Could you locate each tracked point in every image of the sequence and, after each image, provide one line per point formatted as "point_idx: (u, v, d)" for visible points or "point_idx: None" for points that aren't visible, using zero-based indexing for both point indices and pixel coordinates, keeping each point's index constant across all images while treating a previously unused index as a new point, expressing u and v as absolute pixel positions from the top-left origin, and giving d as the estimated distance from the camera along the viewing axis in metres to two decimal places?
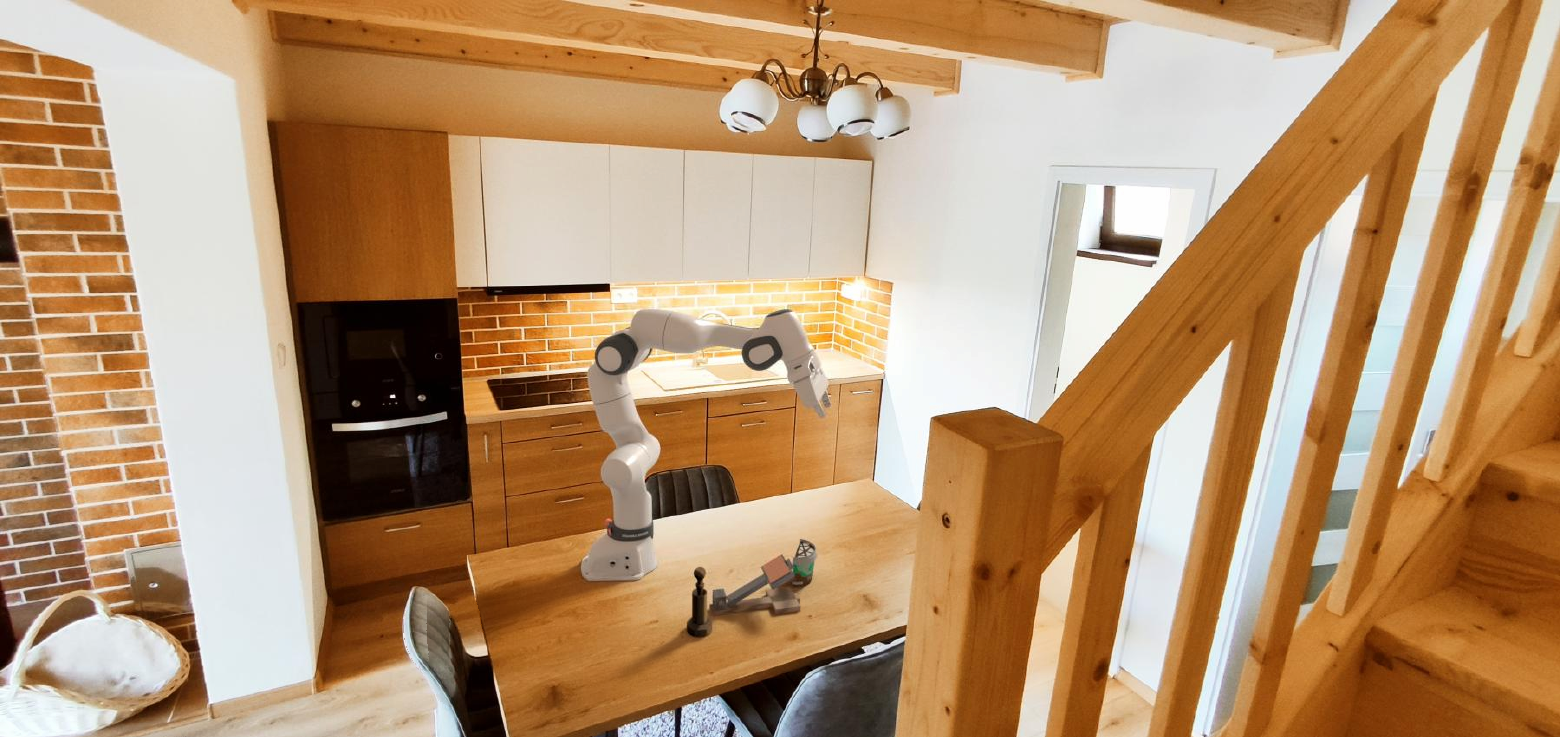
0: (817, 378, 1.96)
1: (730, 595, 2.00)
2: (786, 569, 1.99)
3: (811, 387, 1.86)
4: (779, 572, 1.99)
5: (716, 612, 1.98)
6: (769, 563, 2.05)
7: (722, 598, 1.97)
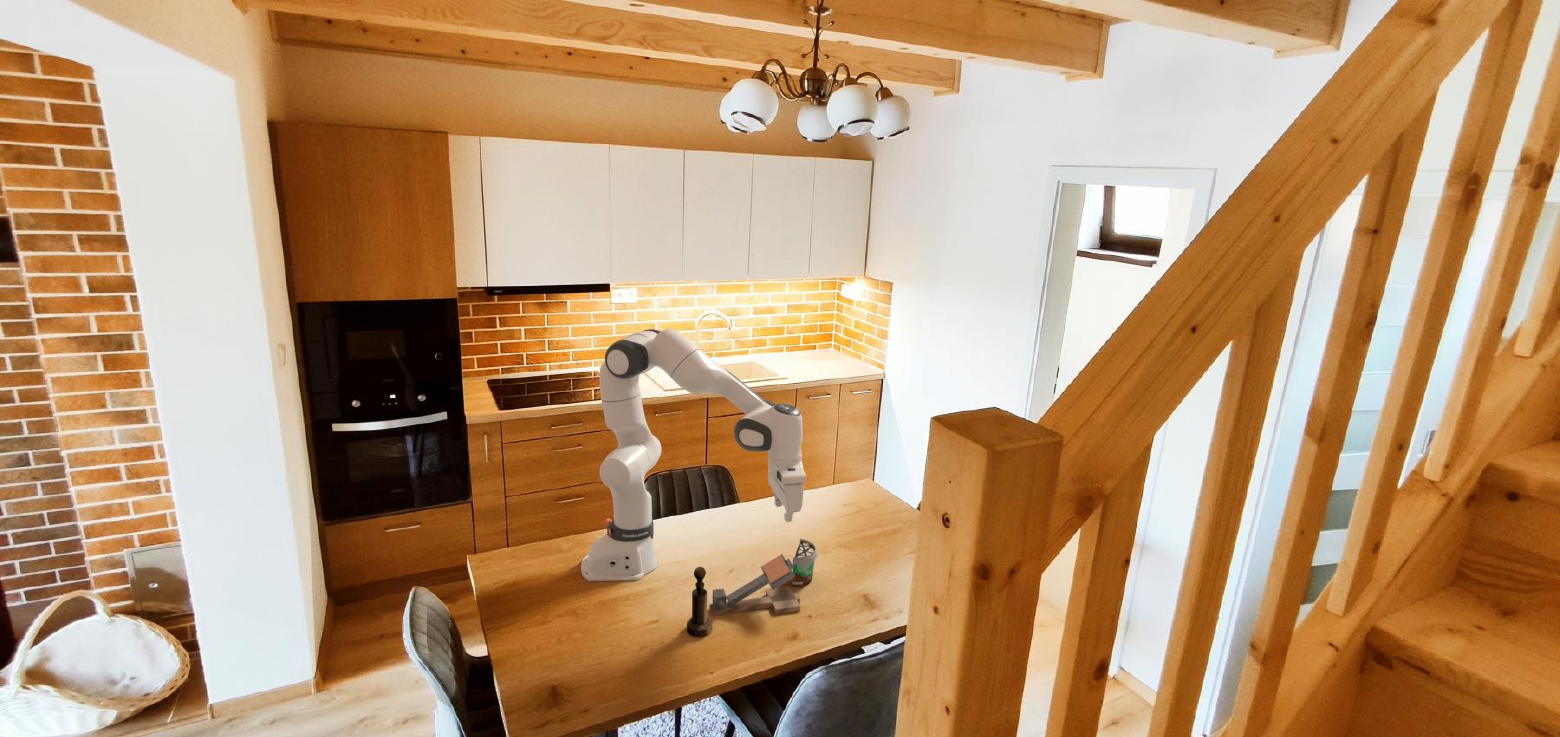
0: None
1: (730, 595, 2.00)
2: (786, 569, 1.99)
3: (802, 495, 1.87)
4: (779, 572, 1.99)
5: (716, 612, 1.98)
6: (769, 563, 2.05)
7: (722, 598, 1.97)
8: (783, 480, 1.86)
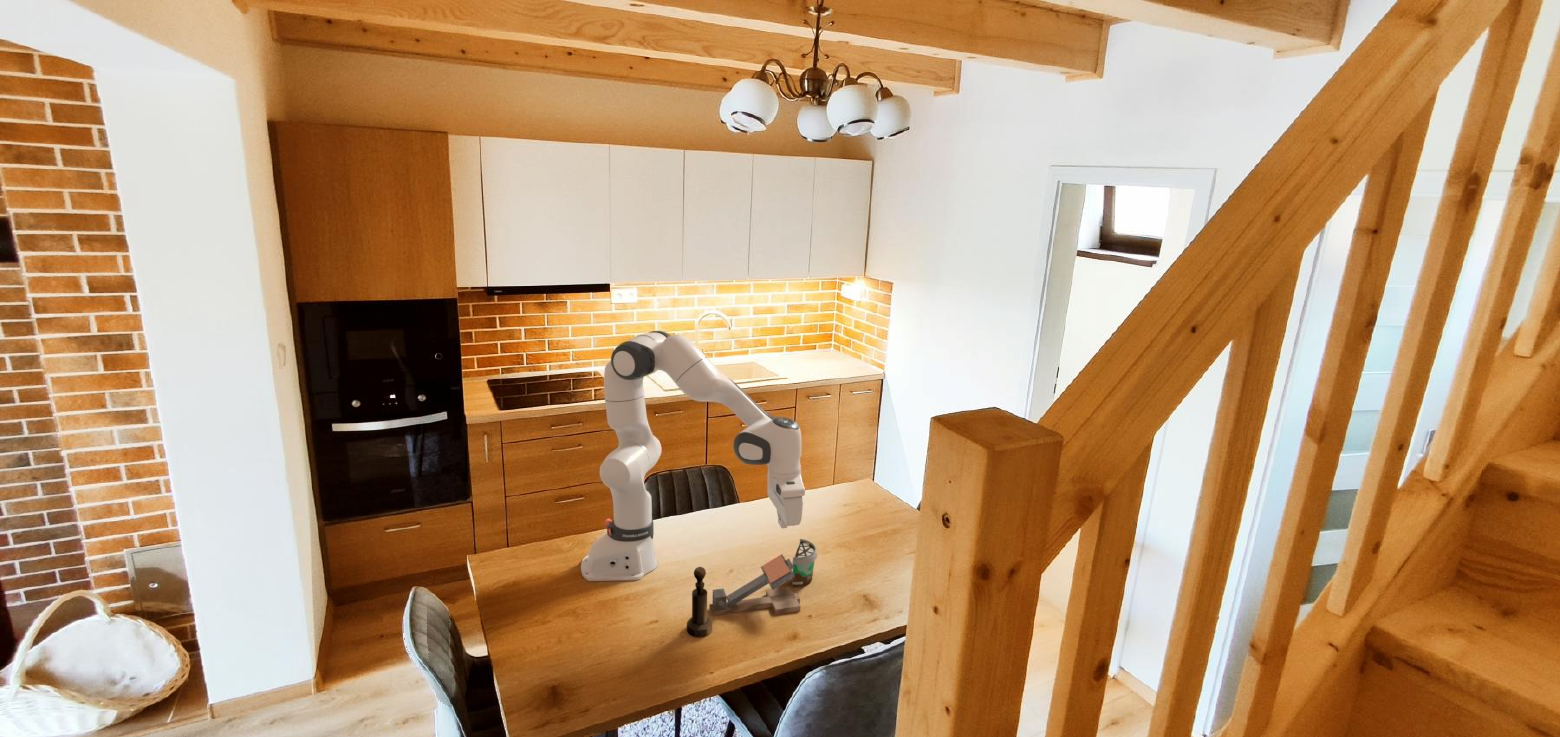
0: None
1: (730, 595, 2.00)
2: (786, 569, 1.99)
3: (801, 508, 1.88)
4: (779, 572, 1.99)
5: (716, 612, 1.98)
6: (769, 563, 2.05)
7: (722, 598, 1.97)
8: (782, 494, 1.86)
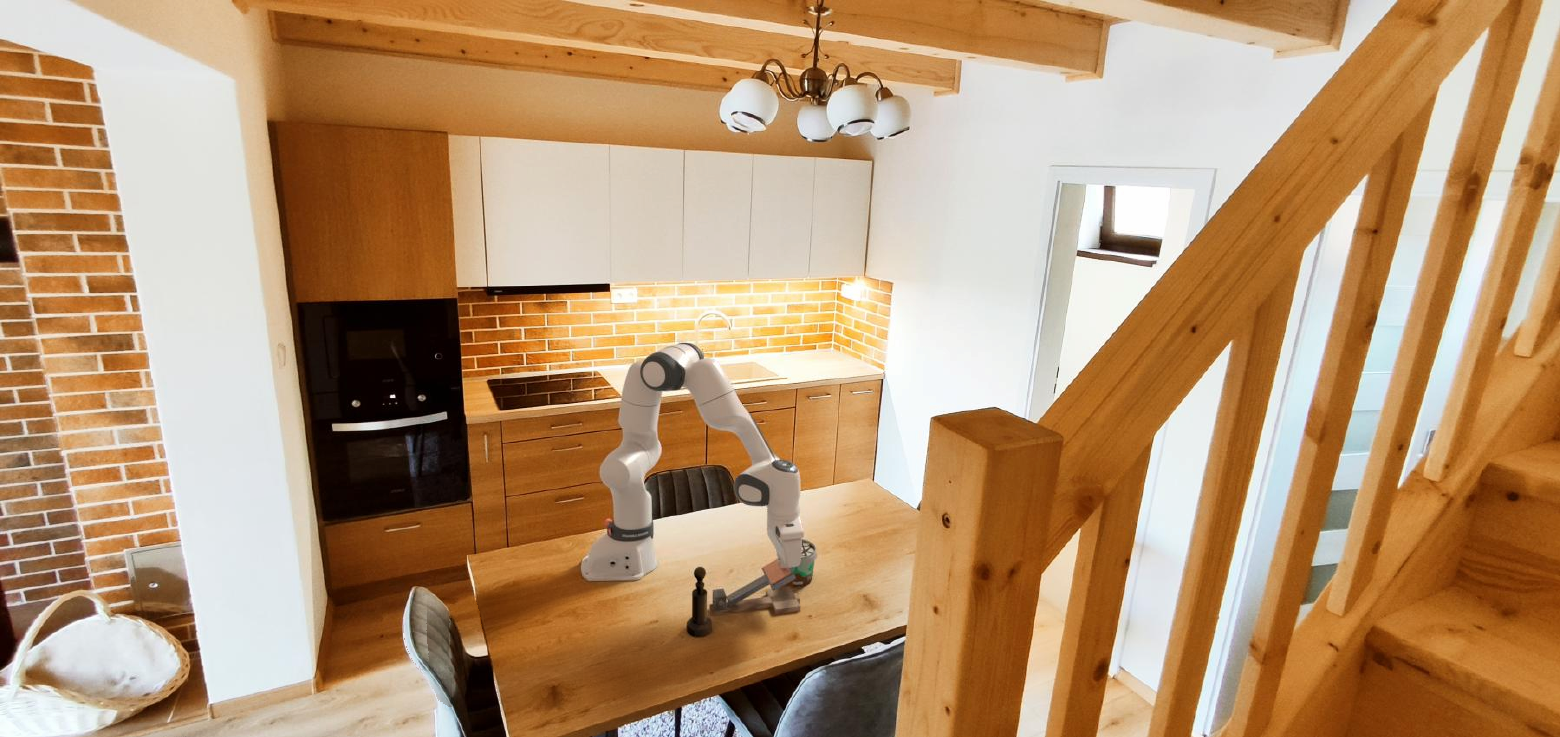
0: None
1: (730, 595, 2.00)
2: (787, 571, 1.99)
3: (800, 550, 1.91)
4: (780, 573, 1.99)
5: (716, 612, 1.98)
6: (770, 564, 2.05)
7: (722, 598, 1.97)
8: (782, 536, 1.90)
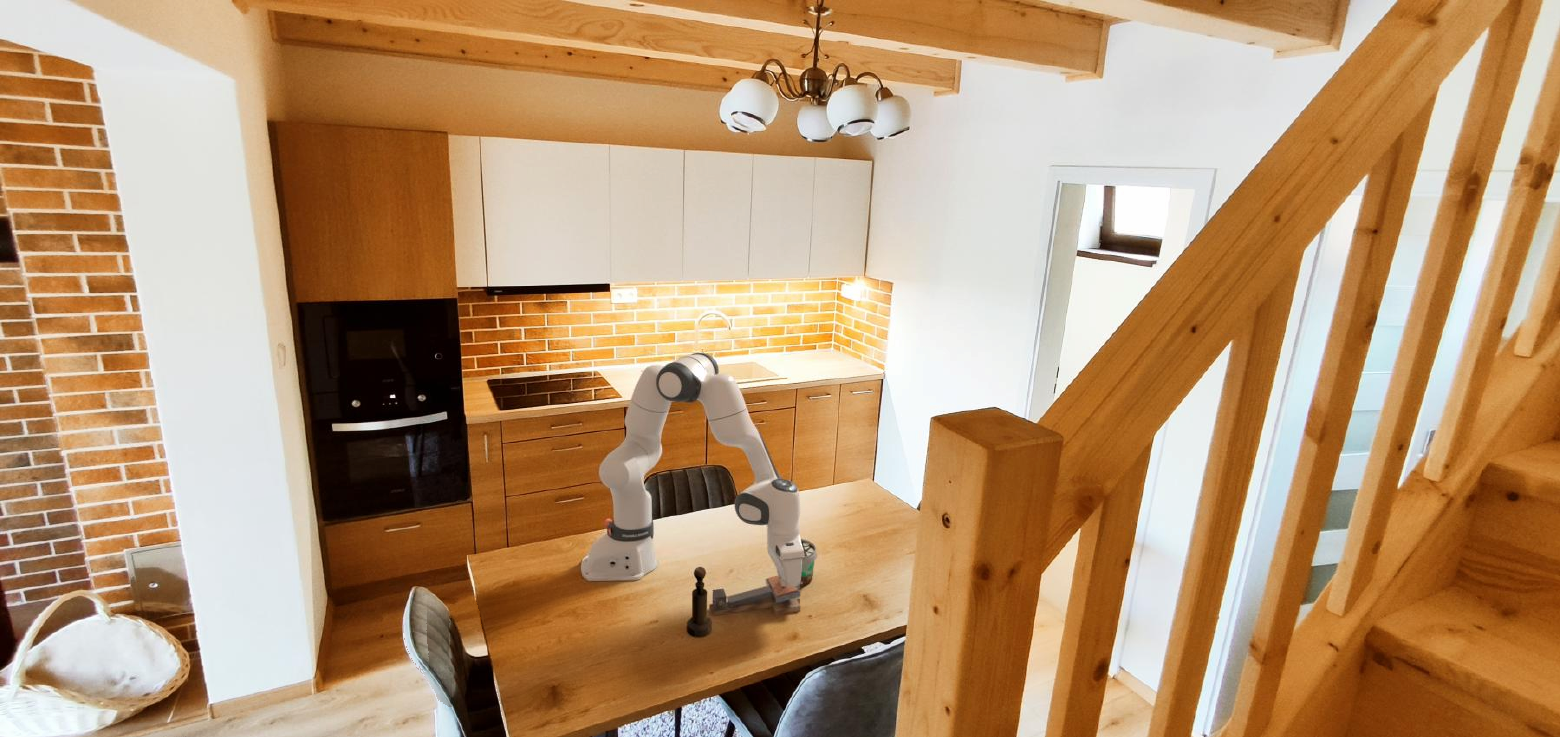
0: None
1: (731, 596, 2.01)
2: (793, 587, 2.01)
3: (800, 569, 1.92)
4: (786, 588, 2.01)
5: (716, 612, 1.98)
6: (775, 577, 2.06)
7: (722, 598, 1.97)
8: (782, 556, 1.91)
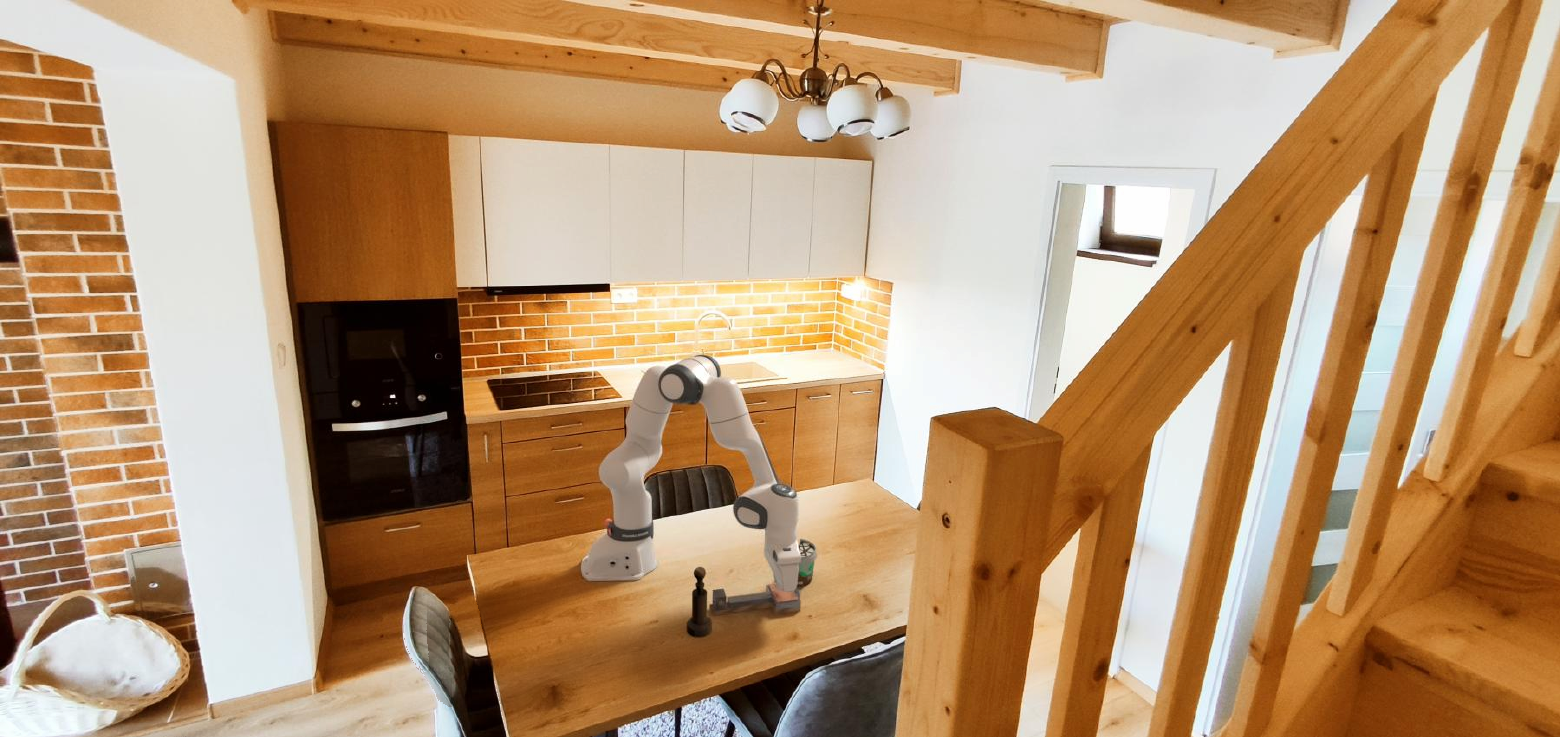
0: None
1: (732, 597, 2.01)
2: (794, 596, 2.02)
3: (797, 575, 1.93)
4: (787, 596, 2.02)
5: (716, 612, 1.98)
6: None
7: (722, 598, 1.97)
8: (779, 561, 1.91)
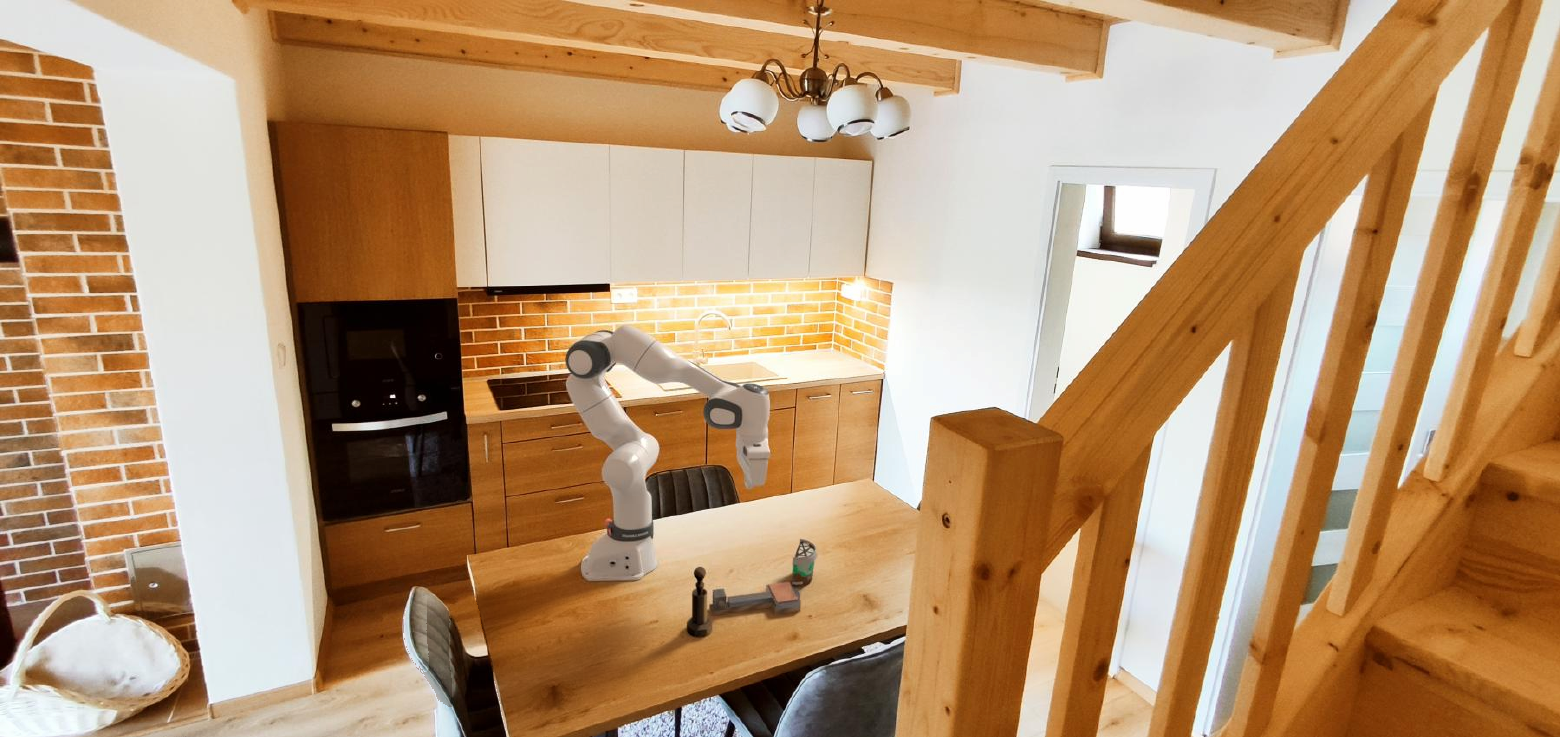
0: None
1: (732, 597, 2.01)
2: (794, 596, 2.02)
3: (766, 469, 1.98)
4: (787, 596, 2.02)
5: (716, 612, 1.98)
6: (776, 585, 2.07)
7: (722, 598, 1.97)
8: (748, 455, 1.97)
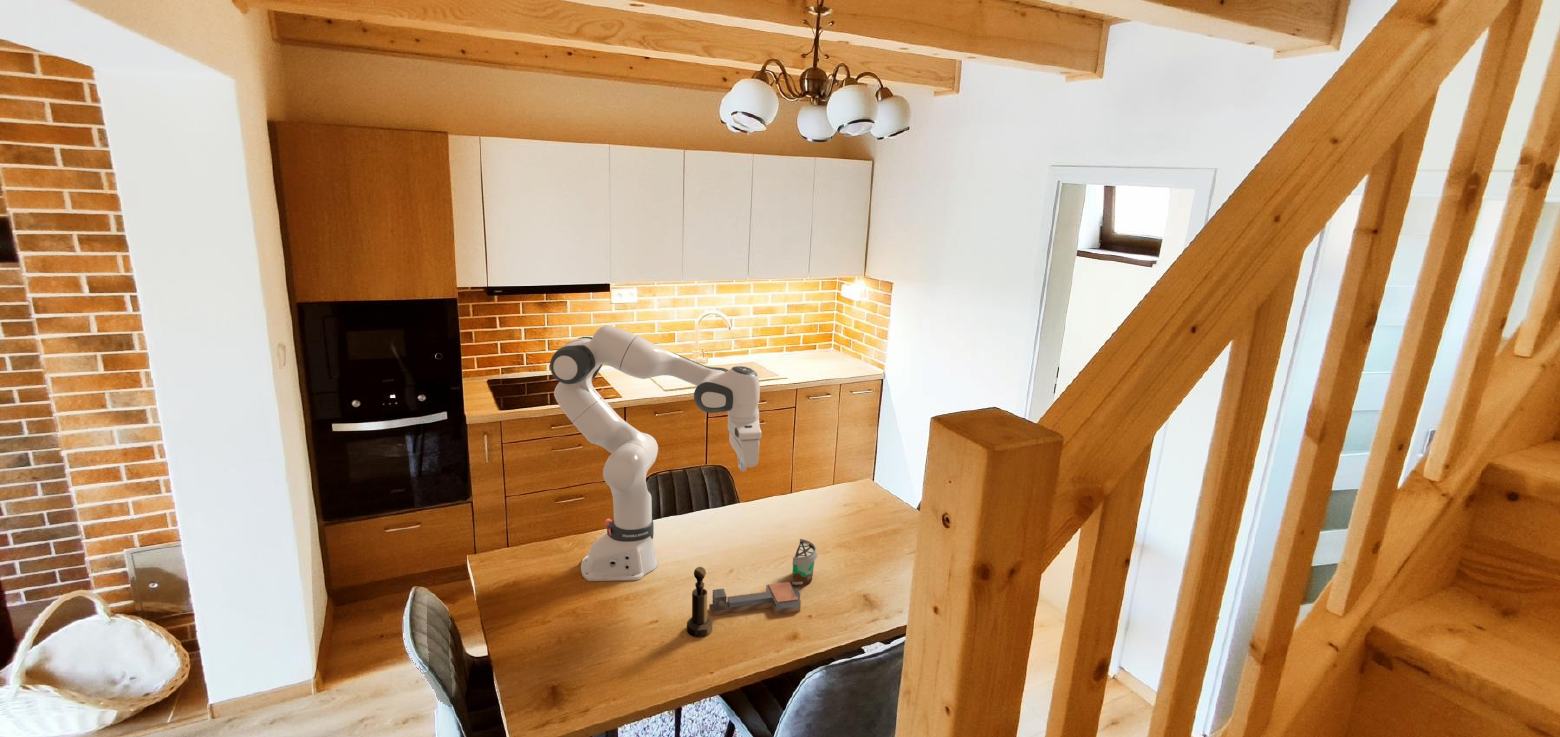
0: None
1: (732, 597, 2.01)
2: (794, 596, 2.02)
3: (758, 450, 2.00)
4: (787, 596, 2.02)
5: (716, 612, 1.98)
6: (776, 585, 2.07)
7: (722, 598, 1.97)
8: (740, 436, 1.99)
